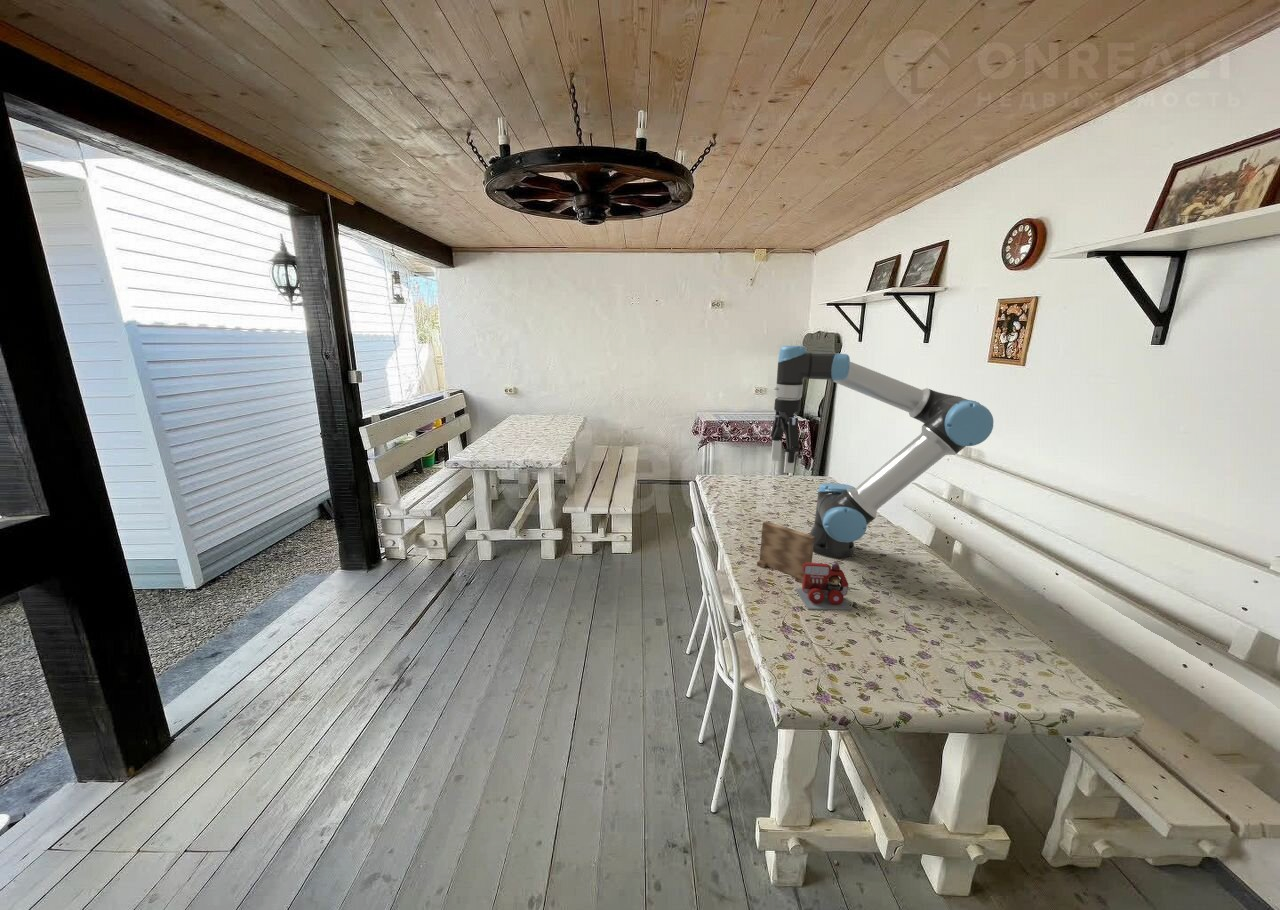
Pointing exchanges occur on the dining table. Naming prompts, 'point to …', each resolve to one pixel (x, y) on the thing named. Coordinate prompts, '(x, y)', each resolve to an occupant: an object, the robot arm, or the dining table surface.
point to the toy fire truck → (824, 582)
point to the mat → (823, 605)
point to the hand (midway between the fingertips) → (781, 466)
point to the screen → (785, 549)
